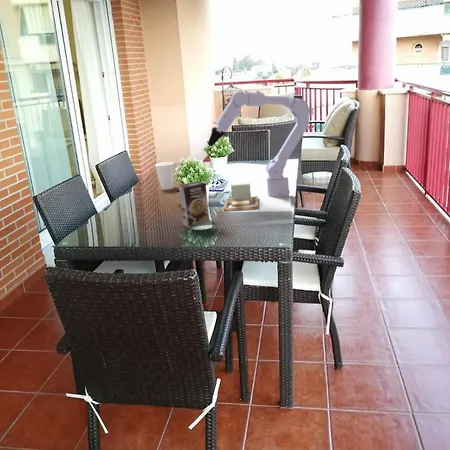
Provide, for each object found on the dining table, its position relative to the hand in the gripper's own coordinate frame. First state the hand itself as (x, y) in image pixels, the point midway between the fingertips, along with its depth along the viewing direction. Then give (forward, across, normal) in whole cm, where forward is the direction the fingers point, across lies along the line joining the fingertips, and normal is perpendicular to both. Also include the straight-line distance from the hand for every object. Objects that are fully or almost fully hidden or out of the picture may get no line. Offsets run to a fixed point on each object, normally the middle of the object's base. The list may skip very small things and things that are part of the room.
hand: (210, 144), depth 205 cm
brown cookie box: (+26, +26, +13) cm, 39 cm away
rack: (+14, +8, +26) cm, 30 cm away
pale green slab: (+14, +3, +25) cm, 29 cm away
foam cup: (+37, -40, -8) cm, 55 cm away
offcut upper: (+13, +12, +25) cm, 30 cm away
